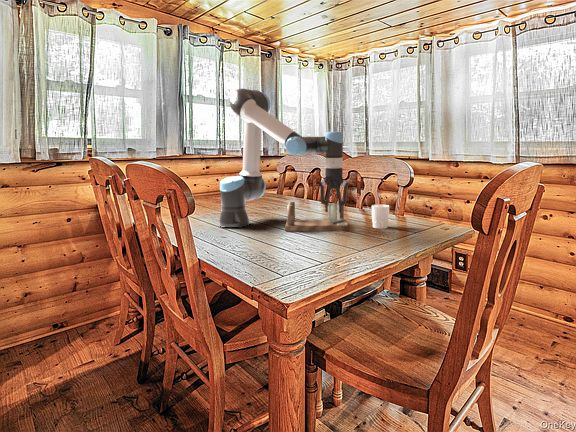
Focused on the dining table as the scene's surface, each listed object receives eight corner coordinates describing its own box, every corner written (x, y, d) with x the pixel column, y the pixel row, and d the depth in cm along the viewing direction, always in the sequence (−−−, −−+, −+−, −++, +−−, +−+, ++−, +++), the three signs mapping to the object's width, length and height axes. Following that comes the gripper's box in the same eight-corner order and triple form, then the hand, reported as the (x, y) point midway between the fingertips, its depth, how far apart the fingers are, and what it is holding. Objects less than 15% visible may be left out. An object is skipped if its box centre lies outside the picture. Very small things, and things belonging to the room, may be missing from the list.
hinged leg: (339, 220, 178) (339, 201, 177) (345, 220, 176) (345, 202, 175) (328, 223, 172) (328, 204, 171) (334, 224, 170) (333, 204, 168)
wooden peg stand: (285, 231, 171) (284, 206, 168) (287, 225, 184) (286, 201, 181) (348, 230, 169) (348, 205, 167) (345, 224, 182) (345, 200, 180)
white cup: (389, 229, 169) (390, 207, 167) (371, 229, 171) (371, 207, 169) (388, 225, 177) (388, 204, 175) (371, 225, 179) (371, 204, 177)
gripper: (313, 168, 166) (314, 220, 171) (352, 168, 162) (351, 221, 166) (316, 166, 173) (317, 217, 178) (353, 166, 169) (353, 218, 174)
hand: (333, 219), depth 172 cm, fingers open, 4 cm apart
